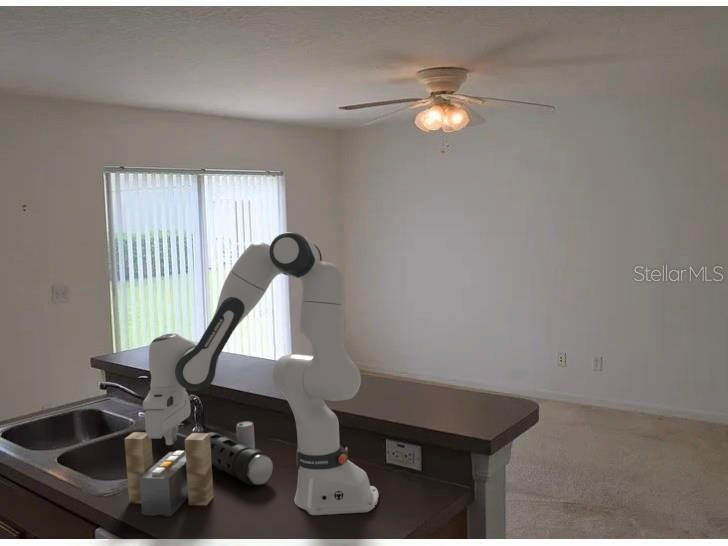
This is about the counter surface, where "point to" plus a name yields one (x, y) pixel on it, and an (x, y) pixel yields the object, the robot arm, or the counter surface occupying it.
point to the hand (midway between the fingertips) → (171, 443)
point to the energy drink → (246, 433)
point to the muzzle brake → (240, 460)
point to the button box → (165, 485)
